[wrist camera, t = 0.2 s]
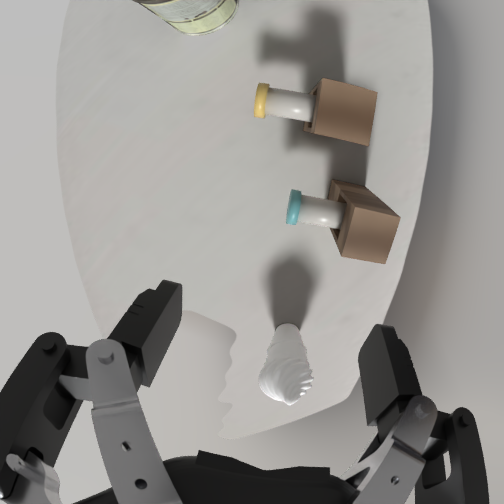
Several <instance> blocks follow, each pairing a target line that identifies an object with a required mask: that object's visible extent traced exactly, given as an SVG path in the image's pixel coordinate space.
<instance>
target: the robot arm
mask: <svg viewBox="0 0 504 504" xmlns="http://www.w3.org/2000/svg"><path fill="white" fill-rule="evenodd" d="M181 316H182V284H179V283H175V282H172V281H168V280H163V281H162V282H161V283H160V284H159V286H158V287H157V289H156V290H152V289H147V290H146V291H144V292H142V293H141V294H139V295H138V297H137V298H136V299H135V301H134V302H133V303H132V305H131V306H130V307H129V309H128V310H127V312H126V313H125V314H124V316H123V317H122V318H121V320H120V321H119V323H118V324H117V325H116V327H115V328H114V330H113V331H112V333H111V334H110V335H109V337H108V338H107V339H101V340H98V341H95V342H94V343H92V344H91V345H90V346H89V347H83V346H74V345H67V343H66V341H65V339H64V337H63V336H62V335H60V334H59V333H55V332H48V333H44V334H42V335H41V336H39V337H38V338H37V339H36V340H35V342H34V343H33V344H32V346H31V347H30V348H29V350H28V351H27V353H26V354H25V356H24V357H23V359H22V360H21V361H20V363H19V364H18V366H17V367H16V369H15V370H14V371H13V373H12V375H11V376H10V378H9V379H8V381H7V382H6V384H5V385H4V387H3V389H2V390H1V392H0V500H2V501H4V502H6V503H7V504H62V503H61V501H60V498H59V486H60V481H59V477H58V475H57V473H56V471H55V470H54V469H53V467H54V465H55V462H56V460H57V457H58V455H59V452H60V450H61V448H62V446H63V443H64V441H65V439H66V437H67V434H68V432H69V430H70V428H71V425H72V423H73V421H74V419H75V417H76V415H77V413H78V411H79V409H80V406H81V404H82V402H83V400H87V401H93V409H92V410H91V414H92V420H93V424H94V429H95V433H96V437H97V441H98V444H99V448H100V451H101V455H102V458H103V461H104V464H105V467H106V471H107V474H108V477H109V480H110V482H111V485H112V487H111V488H109V489H107V490H105V491H103V492H100V493H98V494H96V495H93V496H91V497H89V498H86V499H83V500H81V501H78V502H76V503H73V504H404V503H405V502H406V500H407V498H408V496H409V495H410V493H411V491H412V489H413V487H414V486H415V504H489V493H488V483H487V476H486V469H485V463H484V457H483V452H482V447H481V443H480V438H479V434H478V429H477V425H476V422H475V418H474V416H473V414H472V413H471V412H470V411H469V410H468V409H466V408H463V407H460V408H457V409H456V410H455V411H454V412H453V413H452V414H448V413H444V412H441V411H438V410H437V408H436V405H435V404H434V402H433V401H432V400H431V399H430V398H428V397H426V396H424V395H422V392H421V389H420V386H419V382H418V379H417V375H416V372H415V369H414V368H413V363H412V360H411V357H410V354H409V351H408V348H407V347H406V346H405V344H404V343H403V342H402V340H401V339H398V337H397V334H396V331H395V329H394V327H393V326H387V325H381V324H376V325H375V326H374V327H373V329H372V331H371V332H370V334H369V336H368V337H367V339H366V341H365V342H364V344H363V346H362V347H361V349H360V352H359V356H358V363H359V369H360V376H361V382H362V388H363V394H364V403H365V410H366V419H367V426H377V427H378V431H377V432H376V433H375V434H374V435H373V437H372V438H371V440H370V441H369V443H368V444H367V446H366V447H365V448H364V450H363V451H362V453H361V454H360V455H359V457H358V458H357V459H356V461H355V462H354V463H353V465H352V466H351V467H350V468H349V469H348V470H347V471H346V472H344V473H343V474H342V475H341V476H340V477H339V478H338V477H336V476H333V475H330V468H329V467H303V466H298V467H292V468H284V469H276V470H262V469H259V468H256V467H254V466H251V465H249V464H246V463H244V462H241V461H239V460H237V459H234V458H232V457H227V456H222V455H217V454H213V453H209V452H205V451H201V450H199V452H198V455H197V456H183V457H176V458H172V459H168V460H165V461H162V459H161V457H160V455H159V452H158V450H157V448H156V445H155V443H154V440H153V438H152V435H151V432H150V430H149V427H148V425H147V422H146V419H145V416H144V413H143V411H142V408H141V405H140V402H139V398H138V396H137V392H138V390H139V388H140V385H144V386H147V387H150V385H151V383H152V381H153V379H154V377H155V375H156V372H157V370H158V368H159V366H160V364H161V362H162V360H163V358H164V356H165V354H166V352H167V350H168V347H169V345H170V343H171V341H172V339H173V337H174V335H175V333H176V331H177V329H178V327H179V324H180V321H181ZM447 451H449V455H450V463H451V474H450V476H449V478H448V479H447V480H446V474H445V465H444V457H443V454H444V453H446V452H447Z"/></svg>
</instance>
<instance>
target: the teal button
mask: <svg viewBox="0 0 504 504" xmlns="http://www.w3.org/2000/svg"><path fill="white" fill-rule="evenodd" d="M346 206H347V204H346V203H341V202H336V201H331V200H326V199H321V198H316V197H311V196H305V195H301V191H298V190H291V193H290V198H289V203H288V209H287V217H286V224H292V225H296V223H297V222H302V223H308V224H313V225H319V226H324V227H330V228H335V229H340V230H341V226H342V222H343V218H344V214H345V210H346Z"/></svg>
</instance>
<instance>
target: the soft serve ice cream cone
mask: <svg viewBox="0 0 504 504" xmlns="http://www.w3.org/2000/svg"><path fill="white" fill-rule="evenodd" d="M311 373H312V370H311V369H310V366H309V362H308V360H307V350H306V348H305V346H304V344H303V341H302V338H301V335H300V332H299V329H298V328H297V327H296V326H295V325H293V324H289V323H286V324H282V325H280V326H278V327H277V329H276V331H275V333H274V336H273V339H272V342H271V344H270V346H269V348H268V350H267V358H266V362H265V363H264V367H263V369H262V370H261V372H260V375H259V386H260V388H261V390H262V391H263V392H264V393H265V394H266V395H267V396H269V397H271V398H273V399H275V400H279V401H284V402H285V403H286V404H288V405H289V406H290V405H292V404H294V403H295V402H297V401H298V400H299V398H300V397H301V396H300V395H303V394H306V390H307V389H308V388H310V387H312V385H311V381H312V380H313V379H314V378H313V377H312V376H311Z"/></svg>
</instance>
